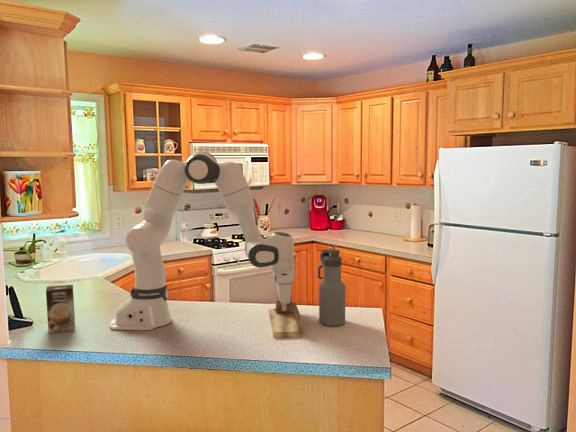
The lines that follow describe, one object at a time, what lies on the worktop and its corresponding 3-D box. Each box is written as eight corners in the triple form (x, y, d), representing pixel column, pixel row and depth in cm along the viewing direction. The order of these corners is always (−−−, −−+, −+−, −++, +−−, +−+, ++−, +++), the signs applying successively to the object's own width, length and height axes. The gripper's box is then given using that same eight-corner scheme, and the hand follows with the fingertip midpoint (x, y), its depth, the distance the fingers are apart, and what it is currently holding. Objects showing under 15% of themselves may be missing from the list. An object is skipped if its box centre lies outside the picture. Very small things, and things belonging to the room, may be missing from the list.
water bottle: (313, 321, 189) (313, 248, 186) (333, 316, 195) (333, 246, 191) (329, 328, 181) (329, 253, 177) (350, 323, 186) (350, 250, 183)
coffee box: (47, 334, 179) (44, 290, 177) (49, 328, 185) (46, 286, 183) (75, 330, 182) (72, 288, 180) (76, 325, 188) (73, 283, 186)
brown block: (273, 313, 192) (273, 301, 191) (272, 310, 196) (272, 298, 195) (291, 313, 193) (291, 300, 192) (290, 310, 197) (290, 297, 196)
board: (273, 337, 173) (273, 325, 172) (269, 313, 199) (268, 303, 198) (303, 336, 174) (303, 324, 173) (295, 312, 200) (295, 302, 199)
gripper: (273, 267, 202) (273, 300, 204) (276, 280, 182) (277, 317, 184) (288, 267, 203) (289, 300, 205) (293, 280, 183) (294, 316, 184)
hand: (283, 308), depth 194 cm, fingers closed on brown block, 4 cm apart
